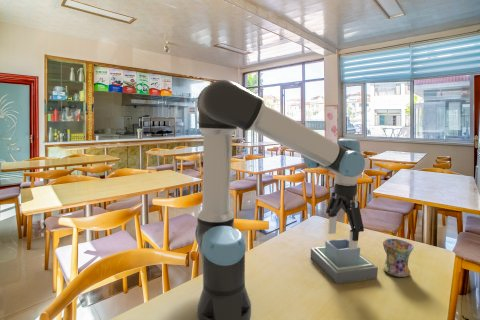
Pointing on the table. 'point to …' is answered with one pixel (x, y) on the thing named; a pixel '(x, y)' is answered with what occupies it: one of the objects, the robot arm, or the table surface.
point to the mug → (397, 257)
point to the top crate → (362, 264)
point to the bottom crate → (345, 274)
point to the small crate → (342, 253)
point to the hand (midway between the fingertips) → (341, 240)
